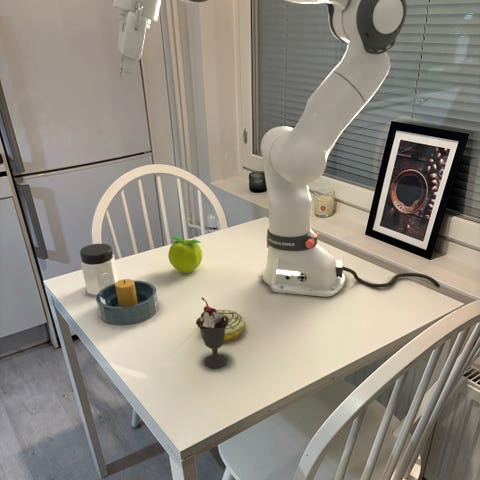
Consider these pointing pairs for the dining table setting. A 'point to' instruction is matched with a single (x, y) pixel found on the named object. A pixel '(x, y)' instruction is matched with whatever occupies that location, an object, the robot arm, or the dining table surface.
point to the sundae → (213, 334)
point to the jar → (98, 267)
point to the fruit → (185, 254)
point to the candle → (126, 292)
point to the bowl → (128, 314)
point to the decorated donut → (232, 324)
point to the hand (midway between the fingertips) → (124, 79)
